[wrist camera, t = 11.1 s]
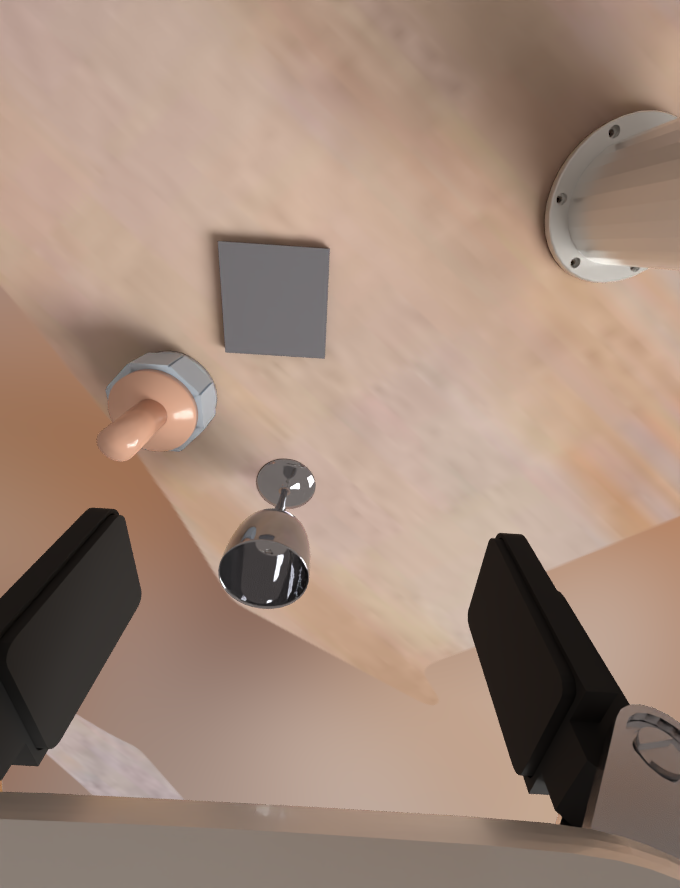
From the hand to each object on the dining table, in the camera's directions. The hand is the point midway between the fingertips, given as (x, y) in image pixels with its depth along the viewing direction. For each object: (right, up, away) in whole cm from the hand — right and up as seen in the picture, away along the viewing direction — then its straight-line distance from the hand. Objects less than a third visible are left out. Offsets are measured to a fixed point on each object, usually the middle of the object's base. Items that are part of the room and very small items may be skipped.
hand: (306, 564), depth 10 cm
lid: (-17, +7, +28) cm, 34 cm away
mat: (-5, +17, +28) cm, 34 cm away
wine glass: (-6, -2, +38) cm, 39 cm away
